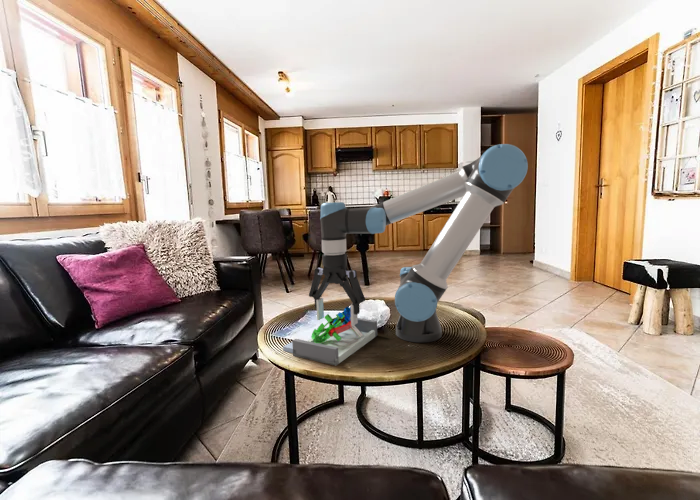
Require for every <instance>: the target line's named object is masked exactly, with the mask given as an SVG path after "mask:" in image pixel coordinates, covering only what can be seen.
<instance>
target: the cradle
mask: <svg viewBox="0 0 700 500" xmlns="http://www.w3.org/2000/svg"><path fill="white" fill-rule="evenodd" d="M349 319H350V320H351V317H350V318H349ZM343 325H344V324H343ZM354 326H355V327H356V328H357V329H358V330H359V331H360V332H361V333H362V334H363V335H364V336H363V337H361V338H360V339H359V338H358V337H357V336H356V335H355V334H354V333H353V332H352V330H351V329H348V330H346V331H344V332H341V333H339V334H338V335H339V336H340V337H341V340H340V341H337V340H336V339H335V337H334V336H332V337H330V338H329V339H327V340H326V341H324V342H322V343H315V342H314V341H313V340H312V338H310V339H309V340H305V341H304V339H301V340H299V339H300V338H294V339H292V341H291V342H292V344H293V353H292V356H293V357H297V358H302V359H307V360H311V361H315V362H318V363H323V364H327V365H330V366H331V365H332V366H335V367H336V366H338V365H339V364H341V363H342V362H343V361H344V360H346V359H347V358H348V357H350V356H351V355H353V354H355V353H356V352H357V351H358V350H361V348H362V347H364V346H365V345H366V344H368V343H369V342H370V341H372V340H373V339H375V338H376V337H377V336H378V321H377V320H375V319H374V320H373V319H368V318H360V317H358V323H357V324H355V325H354ZM324 332H325V331H324ZM324 332H322V333H320V335H322V334H323V333H324ZM320 335H319V336H320Z"/></svg>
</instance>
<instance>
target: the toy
mask: <svg viewBox="0 0 700 500" xmlns="http://www.w3.org/2000/svg"><path fill="white" fill-rule="evenodd" d="M350 317H351V305H350V306H346V307H344V309H343V311H341V312H340V311H339V312H338V313H337V314H335V317H334V318H333V317H332V316H331V315H330V314H329V313H327V314H326V315H324V319H325V321H326V323H325V324H324V323H323V322H322V323H321V324H320V325H319V326H318V327H317V329H316V328H314V329H313V331H312V333H311V338H310V339H312V340H313V341H314V342H315V343H322V342H324V341H326V340H327V339H329V338H330V337H332V336H334V337H335V339H336V340H337V341H340V340H341V337H340V336H339V335H338V334H339V333H341V332H344V331H346V330H348V329H351V330H352V332H353V333H354V334H355V335H356V336H357V337H358V338H359V339H360V338H361V337H363V336H364V335H363V334H362V333H361V332H360V331H359V330H358V329H357V328H356V327H355V326H352V325H351V320H350V319H349V318H350ZM343 324H344V325H343ZM328 325H329V326H328ZM326 326H328V327H326ZM324 331H325V332H324ZM322 332H324V333H323V334H322V335H320V334H321V333H322ZM319 335H320V336H319Z"/></svg>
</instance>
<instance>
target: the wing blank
mask: <svg viewBox="0 0 700 500" xmlns="http://www.w3.org/2000/svg"><path fill="white" fill-rule="evenodd" d="M298 339H299V340H302V338H301V339H300V338H298ZM303 340H304V339H303ZM304 341H306V340H304ZM282 351H284V352H287V353H291V354H293V344H292V341H291V342H290V343H287V344H285V345H283V346H282Z"/></svg>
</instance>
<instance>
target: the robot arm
mask: <svg viewBox="0 0 700 500" xmlns="http://www.w3.org/2000/svg"><path fill="white" fill-rule="evenodd" d="M528 165H529V163H528V158H527V157H526V155H525V153H524V152H523V151H522V150H521V149H520V148H519V147H518V146H516V145H514V144H510V143H501V144H500V143H499V144H495V145H493V146H490V147H489V148H487V149H486V150H485V151H484V152H483V153H482V155H481V156H479V157H477V159H475V160H473V161H472V162H470V163H467V164H466V165H463V166H460V168H459V170H458V171H456V172H454V173H452V174H449V175H447V176H445V177H444V176H443V177H442V178H440V179H437V180H435V181H432V182H429V183H426V184H425V185H422V186H420V187H418V188H414V189H413V190H410V191H407V192H405V193H403V194H402V193H401V194H400V195H398V196H395V197H392V198H390V199H387V200H385V201H383V202H382V201H381V202H380V203H378V204H374V205H372V206H370V207H359V208H358V207H357V208H347V207H346V203H345V202H343V201H342V202H341V201H340V202H339V201H338V202H337V201H335V202H323V203H322V204H320V218H319V220H320V231H321V252H322V253H323V254H322V256H321V257H322V258H321V260H322V266H323V268H322V267H321V266H320V267H316V268H314V277H313V279H312V282H311V287H310V290H309V293H308V296H309V297H310V298H312V299H313V300H314V308H315V310H316V320H317V321H321V320H322V319H325V314H324V313H325V312H324V298H323V297H322V296H323V294H324V292H325V290H326V289H327V288H328V286H329V285H330V284H336V285H340V287H342V289H343V290H344V292H345V293H346V295H347V297H348V298H349V300H350V301H351V303H350V306H351V325H352V326H354V325H355V324H357V323H358V318H359V317H358V315H360V310H361V309H360V304H362V303H363V302H365V301H366V298H365V295H364V292H363V289H362V287H361V285H360V282H359V279H358V277H357V275H358V274H357V270H356V269H352V270H348V268H347V266H348V259H347V258H348V254H347V253H346V252H347V234H349V235H350V234H351V235H352V234H371V235H374V234H382V233H385V231H386V226H389V225H391V224H393V223H396V222H399V221H401V220H403V219H407V218H410V217H412V216H415V215H416V214H417V215H418V214H420V213H422V212H425V211H428V210H431V209H433V208H436V207H438V206H439V207H440V206H441V205H445V204H446V203H449V202H452V201H455V200H457V199H460V198H461V199H460V201H459V202H457V203H458V204H457V205H456V207H455V208H454V210H453V212H452V213H451V214H450V216H449V218H448V219H447V221H446V223H445V224H444V226H443V227H442V229H441V230H440V232H439V233H438V235H437V236H436V237H435V240H434V242H433V243H432V245H431V246H430V248H429V250H428V251H427V252H426V254H425V256H424V257H423V259H422V260H421V262H420V263H418V264H413V265H412V266H403V267H402V268H401V269H399V270H400V273H399V277H400V279H399V281H400V283H399V286H398V288H397V290H396V291H395V295H394V304H395V308H396V310H397V312H398V313H399V317H398V320H397V322H396V326H395V335H396V337H397V338H399V339H401V340H403V341H407V342H410V343H431V342H435V341H439V340H440V339H441V338H442V336H443V332H442V329H443V328H442V326H441V322H440V320H439V317H438V314H437V308H438V303H439V301H440V300H441V298H442V297H443V295H444V294H445V292H446V291H447V290H448V282H447V279H448V277H449V276H450V275H451V273H452V271H453V270H454V268H455V267H456V266H457V265H458V263H459V261H460V260H461V258H462V257H463V255H465V254H464V253H465V252H466V251H467V250H468V247H469V246H470V245H471V243H473V240H474V239H475V237H476V236H477V234H478V232H479V231H480V229H481V228H482V227H483V225H484V223H485V222H486V220H487V219H488V218H489V216H490V214H491V213H492V211H493V210H494V208H496V207H499V206H502V205H504V204H505V202H506V201H507V199H508V198H509V196H510V195H511V193H512V192H513V191H514V189H515V188H517V187H518V186H519V185H520V184H522V182H523V181H524V179H525V177H526V175H527V173H528V169H529V168H528V167H529V166H528ZM323 275H324V278H323V280H322V277H323ZM348 278H349V279H348ZM321 280H322V281H321ZM320 283H321V284H320Z"/></svg>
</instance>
